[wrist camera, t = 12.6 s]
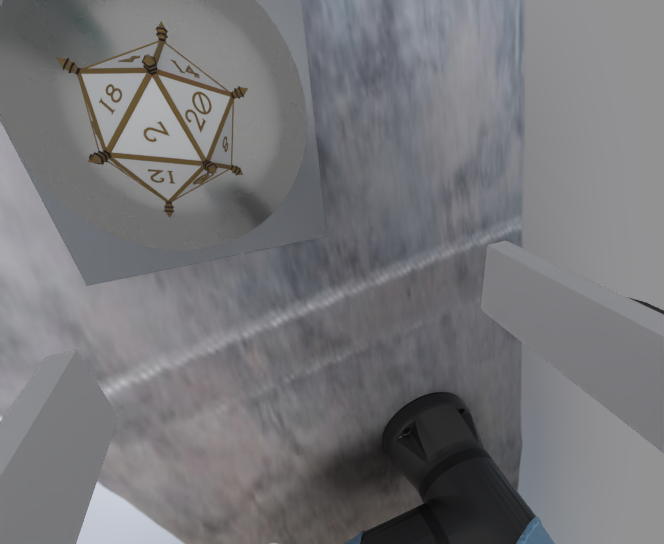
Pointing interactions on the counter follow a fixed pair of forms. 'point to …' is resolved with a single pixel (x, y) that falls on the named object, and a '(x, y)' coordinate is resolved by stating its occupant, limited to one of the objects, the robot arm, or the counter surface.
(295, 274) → the counter surface
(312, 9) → the counter surface
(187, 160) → the game die
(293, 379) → the counter surface
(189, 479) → the counter surface
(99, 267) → the scale
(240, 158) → the pan
